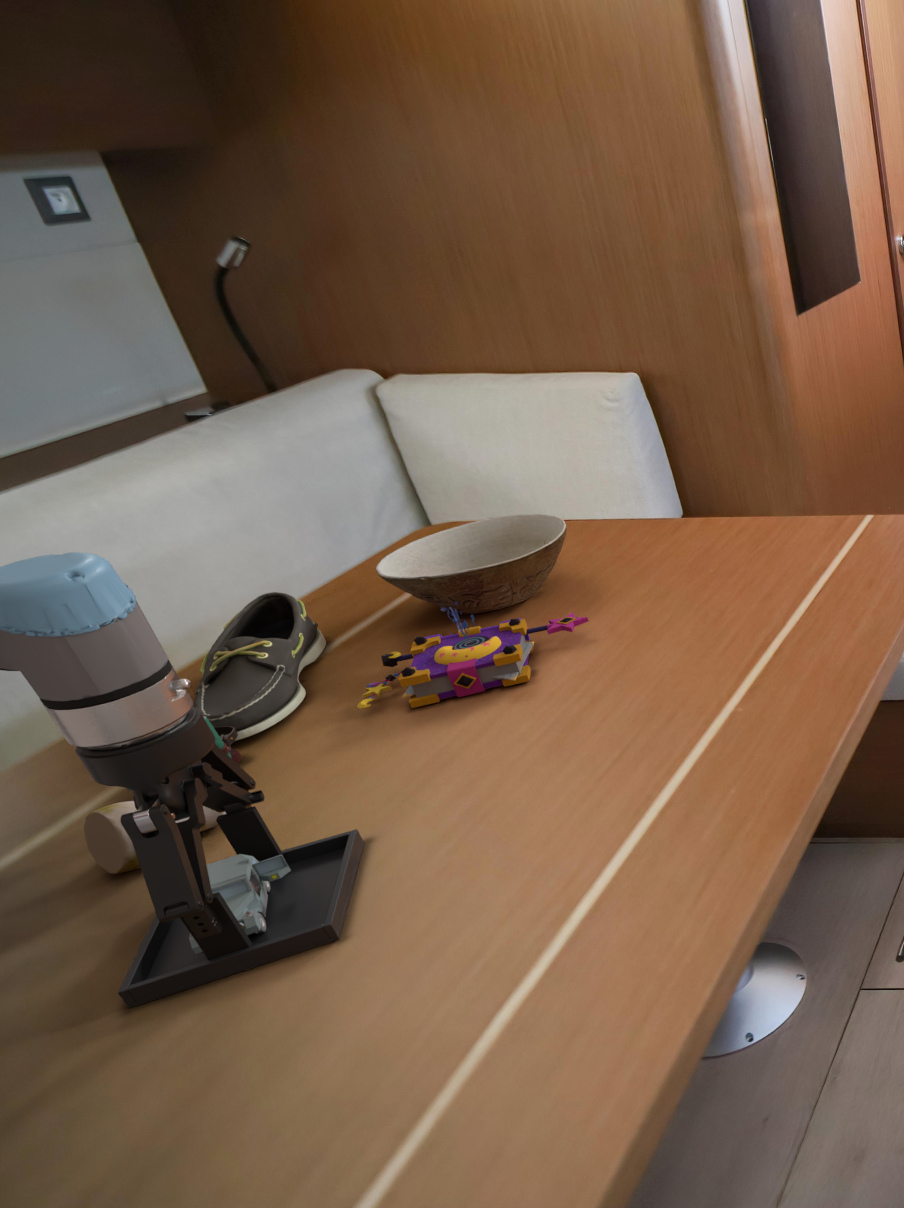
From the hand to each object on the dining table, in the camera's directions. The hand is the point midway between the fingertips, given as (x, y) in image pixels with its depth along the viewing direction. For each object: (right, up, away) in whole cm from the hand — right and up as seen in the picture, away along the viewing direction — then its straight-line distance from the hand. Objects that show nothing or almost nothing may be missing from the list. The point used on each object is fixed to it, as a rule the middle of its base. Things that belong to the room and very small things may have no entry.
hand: (249, 905), depth 92 cm
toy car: (0, -1, +1) cm, 1 cm away
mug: (-18, +3, +9) cm, 21 cm away
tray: (0, -2, +1) cm, 2 cm away
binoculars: (-26, +8, +19) cm, 33 cm away
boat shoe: (-34, +16, +35) cm, 51 cm away
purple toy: (-9, +18, +39) cm, 44 cm away
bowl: (-22, +27, +58) cm, 68 cm away
